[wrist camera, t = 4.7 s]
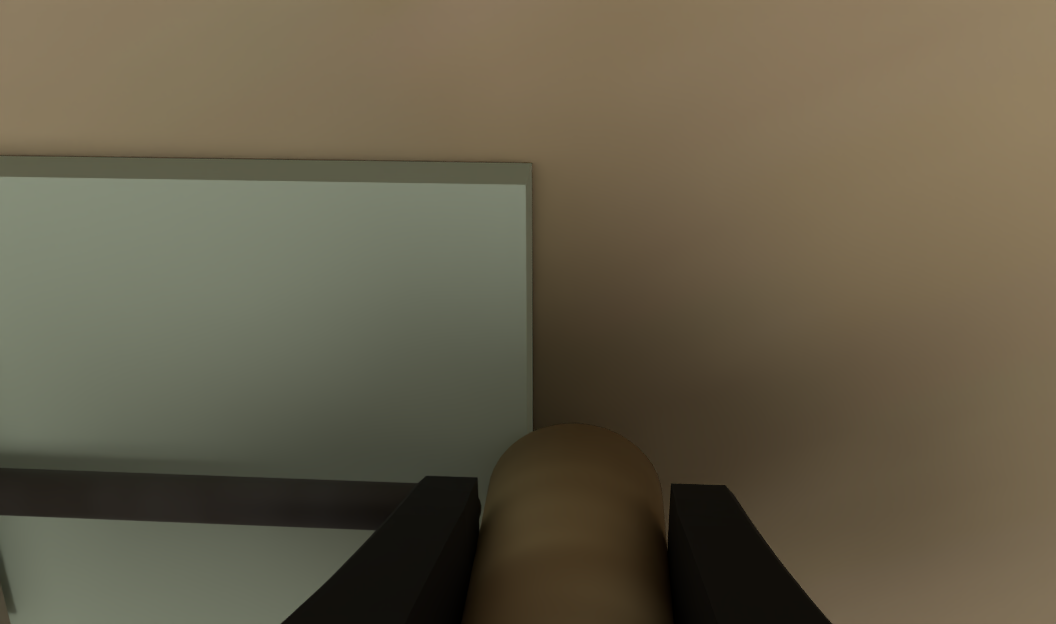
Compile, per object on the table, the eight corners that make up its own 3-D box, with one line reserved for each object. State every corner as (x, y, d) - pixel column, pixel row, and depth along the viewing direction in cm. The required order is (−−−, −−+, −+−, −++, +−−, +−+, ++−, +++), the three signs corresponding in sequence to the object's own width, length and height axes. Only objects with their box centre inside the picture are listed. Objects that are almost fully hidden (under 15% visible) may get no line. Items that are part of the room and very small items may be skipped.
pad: (532, 162, 12) (525, 184, 11) (533, 671, 15) (528, 720, 14) (-162, 152, 13) (-221, 173, 12) (-26, 643, 16) (-66, 689, 15)
